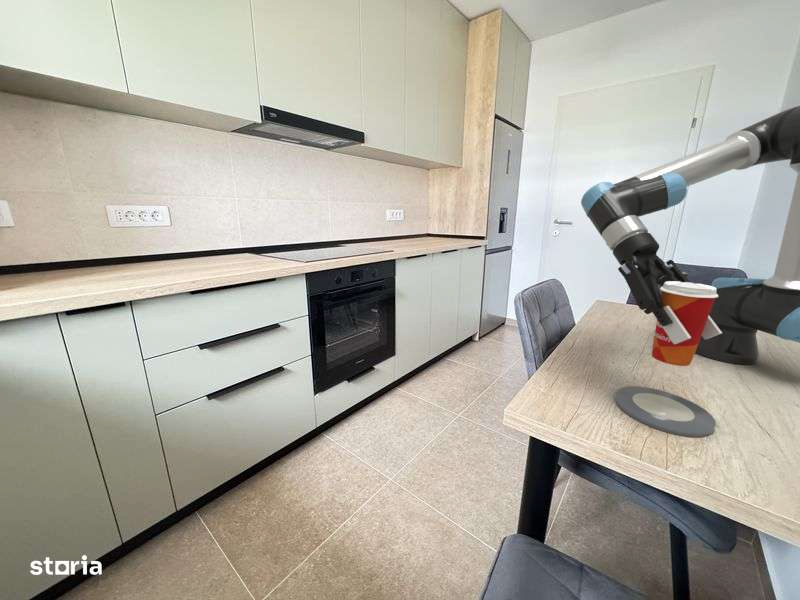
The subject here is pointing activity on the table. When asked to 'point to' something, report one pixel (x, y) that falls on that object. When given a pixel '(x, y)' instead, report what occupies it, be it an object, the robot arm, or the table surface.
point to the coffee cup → (683, 320)
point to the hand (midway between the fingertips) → (698, 338)
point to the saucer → (665, 411)
